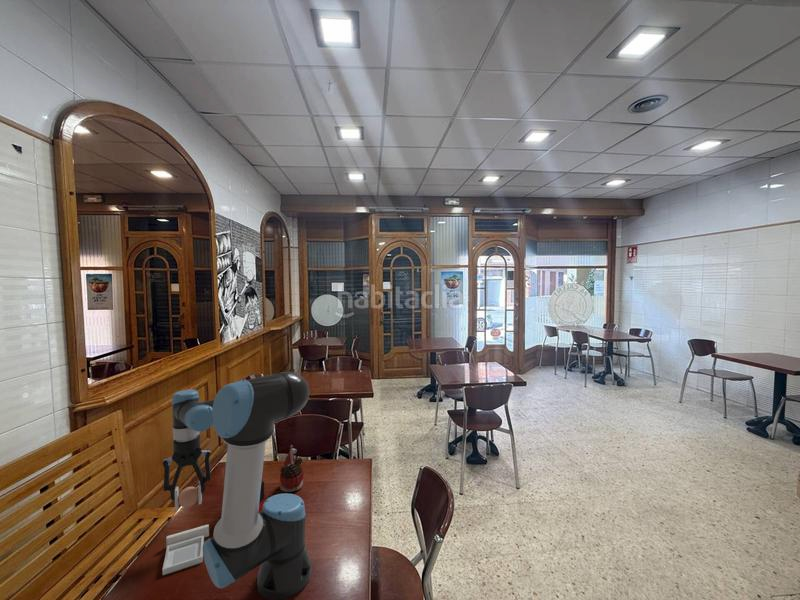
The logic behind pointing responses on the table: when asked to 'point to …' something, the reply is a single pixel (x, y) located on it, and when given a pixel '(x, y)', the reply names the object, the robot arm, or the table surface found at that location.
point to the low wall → (187, 535)
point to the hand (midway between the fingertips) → (188, 504)
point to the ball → (188, 497)
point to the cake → (291, 473)
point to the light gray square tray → (183, 555)
